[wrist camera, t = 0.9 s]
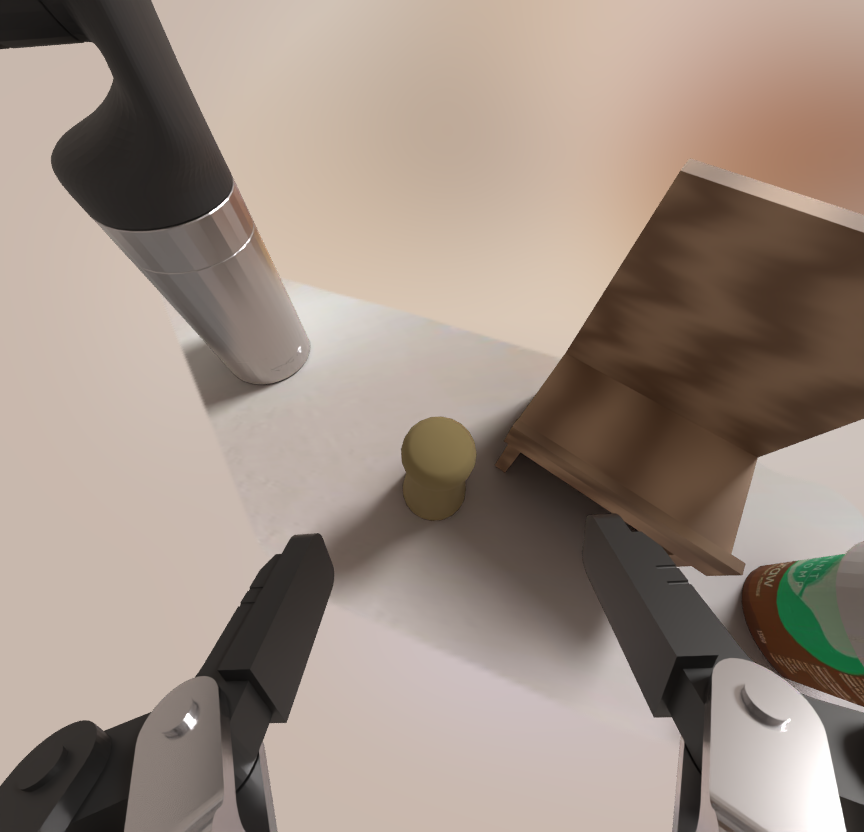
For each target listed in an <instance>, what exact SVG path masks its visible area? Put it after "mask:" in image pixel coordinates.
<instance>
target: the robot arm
mask: <svg viewBox="0 0 864 832" xmlns="http://www.w3.org/2000/svg"><path fill="white" fill-rule="evenodd" d="M84 42H93V43H94V44H95V45H96V46H97V47H98V48H99V50H100V51H101V53H102V54H103V56H104V58H105V60H106V62H107V64H108V66H109V68H110V70H111V72H112V75H113V78H114V79H113V83H112V86H111V89H110V91H109V93H108V95H107V96H106V98H105V100H104V101H103V102H102V104H101V105H100V106H99V107H98V108H97V109H96V110H95V111H94V112H93V113H92V114H90V115H89V116H88V117H86V118H85V119H83V120H82V121H81V122H79V123H78V124H77V125H75V126H74V127H72V128H71V129H70V130H69V131H67V132H66V133H65V134H64V135H63V136H62V137H61V138H60V140H59V141H58V142H57V144H56V146H55V148H54V150H53V153H52V156H51V164H52V168H53V171H54V173H55V175H56V176H57V177H58V180H59V181H60V183H62V185H63V186H64V188H65V189H66V190H67V191H68V192H69V194H70V195H71V196H72V197H73V198H74V199H75V200H76V201H77V202H78V203H79V205H80V206H81V207H82V208H83V209H84V210H85V211H86V212H87V213H88V214H89V215H90V217H92V218H93V219H94V220H95V222H97V224H98V225H99V226H100V227H101V228H102V229H103V230H104V231H105V232H106V234H107V235H108V236H109V237H110V238H111V239H112V240H113V241H114V242H115V244H116V245H117V246H118V247H119V248H120V249H121V250H122V251H123V252H124V253H125V255H126V256H127V257H128V258H129V259H130V260H131V261H132V262H133V263H134V264H135V265H136V266H137V267H138V269H139V270H140V271H141V272H142V273H143V274H144V275H145V276H146V277H147V278H148V279H149V281H151V283H152V284H153V285H154V286H155V287H156V288H157V290H158V291H159V292H160V293H161V294H162V295H163V296H164V297H165V298H166V299H167V301H168V302H169V303H170V304H171V305H172V306H173V307H174V308H175V309H176V310H177V312H178V313H179V314H180V315H181V316H182V317H183V318H184V319H185V320H186V322H187V323H188V324H189V325H190V326H191V327H192V328H193V329H194V330H195V331H196V333H197V334H198V335H199V336H200V337H201V338H202V339H203V340H204V341H205V343H206V344H207V345H208V346H209V347H210V348H211V349H212V350H213V352H214V353H215V354H216V355H217V356H218V357H219V358H220V359H221V360H222V361H223V363H224V364H225V365H226V366H227V367H228V368H229V369H230V370H231V371H232V372H233V374H234V375H236V376H237V377H238V378H239V379H241V380H243V381H245V382H248V383H253V384H269V383H274V382H278V381H281V380H283V379H285V378H287V377H290V376H291V375H292V374H294V373H295V372H297V371H298V370H299V369H300V368H301V367H302V366H303V364H304V363H305V361H306V360H307V358H308V355H309V352H310V342H309V339H308V337H307V335H306V332H305V330H304V328H303V326H302V324H301V322H300V319H299V317H298V315H297V313H296V310H295V308H294V306H293V304H292V302H291V300H290V298H289V295H288V293H287V291H286V289H285V287H284V285H283V283H282V281H281V278H280V276H279V274H278V272H277V270H276V268H275V266H274V264H273V261H272V259H271V257H270V255H269V253H268V251H267V249H266V247H265V244H264V242H263V240H262V238H261V236H260V234H259V232H258V230H257V227H256V225H255V223H254V221H253V219H252V217H251V215H250V213H249V211H248V209H247V206H246V204H245V202H244V200H243V198H242V196H241V194H240V191H239V189H238V187H237V185H236V183H235V181H234V179H233V177H232V175H231V172H230V170H229V168H228V166H227V164H226V162H225V160H224V158H223V156H222V154H221V152H220V150H219V148H218V146H217V144H216V142H215V140H214V137H213V136H212V134H211V131H210V129H209V127H208V125H207V123H206V121H205V119H204V117H203V115H202V112H201V111H200V108H199V106H198V104H197V102H196V100H195V98H194V96H193V93H192V91H191V89H190V87H189V85H188V82H187V81H186V78H185V76H184V74H183V72H182V70H181V67H180V65H179V63H178V61H177V59H176V56H175V54H174V52H173V50H172V47H171V45H170V43H169V40H168V38H167V36H166V34H165V32H164V30H163V27H162V25H161V22H160V20H159V18H158V15H157V13H156V11H155V9H154V6H153V4H152V2H151V0H0V49H6V48H7V49H8V48H21V47H22V48H23V47H35V46H48V45H61V44H73V43H84ZM582 556H583V563H584V567H585V570H586V573H587V575H588V578H589V580H590V582H591V584H592V586H593V588H594V591H595V593H596V595H597V597H598V599H599V601H600V603H601V605H602V608H603V610H604V612H605V614H606V616H607V618H608V620H609V623H610V625H611V627H612V629H613V631H614V633H615V635H616V638H617V640H618V642H619V644H620V646H621V648H622V650H623V652H624V655H625V657H626V659H627V661H628V663H629V665H630V667H631V670H632V672H633V674H634V676H635V678H636V680H637V682H638V685H639V687H640V689H641V691H642V693H643V695H644V697H645V699H646V702H647V704H648V706H649V708H650V710H651V712H652V714H653V717H672V718H673V720H674V722H675V724H676V726H677V728H678V730H679V732H680V734H681V739H680V747H679V759H678V771H677V782H676V794H675V806H674V818H673V830H672V832H864V713H863V712H859V711H856V710H852V709H849V708H845V707H842V706H838V705H835V704H832V703H828V702H825V701H821V700H818V699H815V698H812V697H809V696H806V695H804V694H801V693H799V692H798V691H797V690H796V689H795V688H794V687H793V686H792V685H790V684H789V683H788V682H787V681H785V680H784V679H783V678H781V677H780V676H778V675H777V674H775V673H774V672H772V671H771V670H769V669H767V668H765V667H763V666H761V665H759V664H756V663H754V662H753V661H752V660H751V659H750V658H749V657H748V656H747V655H746V654H745V652H744V651H743V650H742V649H741V648H740V646H739V645H738V644H737V642H736V641H735V640H734V639H733V637H732V636H731V635H730V633H729V632H728V631H727V630H726V628H725V627H724V626H723V625H722V623H721V622H720V621H719V619H718V618H717V617H716V616H715V614H714V613H713V612H712V610H711V609H710V608H709V607H708V605H707V604H706V603H705V601H704V600H703V599H702V598H701V596H700V595H699V594H698V592H697V591H696V590H695V589H694V587H693V586H692V585H691V584H689V583H688V580H687V578H686V577H685V576H684V575H683V573H682V572H681V571H680V569H679V568H676V564H675V563H674V562H673V560H672V559H671V558H670V557H669V555H668V554H667V553H666V551H665V550H664V549H663V548H662V546H661V545H659V544H658V543H656V542H655V541H654V540H652V539H651V538H650V537H648V536H647V535H646V534H644V533H643V532H642V531H640V532H631V531H630V529H629V528H628V526H627V525H626V523H625V522H624V521H623V519H622V518H621V517H620V516H619V515H618V514H616V513H612V514H598V515H588V516H587V518H586V524H585V533H584V541H583V550H582ZM333 582H334V568H333V564H332V562H331V559H330V557H329V554H328V551H327V549H326V546H325V543H324V541H323V538H322V536H321V535H320V534H319V533H316V534H302V535H294V536H292V537H291V539H290V540H289V542H288V544H287V545H286V547H285V549H284V551H283V553H282V554H276V555H275V556H274V557H273V558H272V559H271V560H270V561H269V562H268V563H267V564H266V565H265V566H264V567H263V568H262V569H261V570H260V571H259V573H258V574H257V576H256V578H255V579H254V581H253V583H252V584H251V586H250V590H249V591H248V592H247V593H246V595H245V596H244V598H243V599H242V601H241V605H240V607H238V608H237V610H236V612H235V613H234V615H233V616H232V618H231V620H230V621H229V623H228V625H227V626H226V628H225V630H224V631H223V633H222V635H221V636H220V638H219V640H218V641H217V643H216V645H215V647H214V648H213V650H212V651H211V653H210V655H209V656H208V658H207V660H206V662H205V663H204V665H203V666H202V668H201V669H200V671H199V673H198V674H197V675H196V677H195V678H192V679H190V680H188V681H186V682H184V683H182V684H180V685H179V686H178V687H176V688H175V689H173V690H172V691H171V692H170V693H169V694H167V695H166V697H164V698H163V699H162V700H161V701H160V702H159V704H158V705H157V706H156V707H155V708H154V709H153V711H152V712H150V713H148V714H145V715H143V716H140V717H138V718H135V719H133V720H130V721H128V722H125V723H123V724H120V725H118V726H115V727H113V728H110V729H108V730H105V731H103V730H102V729H101V728H99V727H98V726H97V725H96V724H94V723H93V722H91V721H79V722H75V723H72V724H70V725H68V726H66V727H64V728H62V729H60V730H59V731H57V732H55V733H54V734H52V735H51V736H49V737H48V738H47V739H45V740H44V741H43V742H42V743H40V744H39V745H38V746H37V747H36V748H34V749H33V750H32V751H31V752H30V753H29V754H28V755H27V756H26V757H25V758H24V759H23V760H22V761H21V762H20V763H19V764H18V766H17V767H16V768H15V769H14V770H13V771H12V772H11V774H10V775H9V776H8V777H7V778H6V780H5V781H4V782H3V783H2V785H1V786H0V832H277V826H276V819H275V813H274V806H273V799H272V793H271V786H270V779H269V773H268V766H267V760H266V753H265V747H264V743H263V739H264V736H265V733H266V731H267V728H268V725H269V723H286V722H287V720H288V717H289V714H290V711H291V708H292V705H293V702H294V699H295V696H296V693H297V690H298V687H299V684H300V681H301V679H302V675H303V673H304V670H305V667H306V664H307V661H308V658H309V655H310V652H311V649H312V646H313V643H314V640H315V637H316V634H317V631H318V628H319V626H320V622H321V620H322V617H323V614H324V611H325V608H326V605H327V602H328V599H329V596H330V593H331V590H332V587H333Z"/></svg>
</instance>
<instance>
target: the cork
mask: <svg viewBox="0 0 864 832" xmlns="http://www.w3.org/2000/svg"><path fill="white" fill-rule="evenodd" d="M401 455H402V464H403V466H404V469H405V471H406V476H405V479H404V483H403V496H404V499H405V502H406V504H407V506H408V507H409V508H410V509H411V511H412V512H413V513H414V514H416V515H417V516H419V517H421V518H423V519H427V520H431V521H435V520H443V519H445V518H448V517H450V516H452V515H453V514H454V513H455V512H456V511H457V510H458V509H459V508H460V506H461V504H462V503H463V501H464V497H465V491H466V485H465V480H466V479H468V477H469V475H470V473H471V472H472V470H473V468H474V466H475V461H476V455H477V454H476V448H475V443H474V440H473V438H472V436H471V434H470V432H469V431H468V430H467V429H466V428H465V427H464V426H463V425H462V424H460V423H459V422H457V421H455V420H453V419H450V418H445V417H430V418H427V419H424V420H422V421H420V422H418V423H417V424H416V425H414V426H413V427H412V428H411V429H410V431H409V432H408V434H407V435H406V436H405V438H404V441H403V445H402V448H401Z"/></svg>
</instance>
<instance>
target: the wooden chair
mask: <svg viewBox="0 0 864 832" xmlns="http://www.w3.org/2000/svg"><path fill="white" fill-rule="evenodd" d="M861 419H864V215H862V214H859V213H856V212H853V211H850V210H847V209H844V208H841V207H838V206H835V205H832V204H829V203H825V202H823V201H819V200H816V199H813V198H810V197H807V196H804V195H801V194H798V193H795V192H791V191H789V190H785V189H782V188H779V187H776V186H773V185H770V184H767V183H764V182H761V181H758V180H755V179H752V178H749V177H746V176H743V175H739V174H737V173H733V172H730V171H727V170H724V169H721V168H718V167H715V166H712V165H709V164H705V163H703V162H700V161H697V160H694V159H689V160H688V162H687V163H686V164H685V165H684V167H683V168H682V170H681V171H680V172H679V174H678V176H677V177H676V179H675V180H674V182H673V184H672V185H671V187H670V188H669V190H668V191H667V193H666V195H665V196H664V198H663V199H662V201H661V202H660V204H659V206H658V207H657V209H656V210H655V212H654V214H653V215H652V217H651V218H650V220H649V222H648V223H647V225H646V226H645V228H644V230H643V231H642V233H641V234H640V236H639V238H638V239H637V241H636V242H635V244H634V245H633V247H632V248H631V250H630V252H629V253H628V255H627V257H626V258H625V260H624V261H623V263H622V264H621V266H620V268H619V269H618V271H617V272H616V274H615V276H614V277H613V279H612V280H611V282H610V284H609V285H608V287H607V288H606V290H605V291H604V293H603V295H602V296H601V298H600V299H599V301H598V302H597V304H596V306H595V307H594V309H593V310H592V312H591V314H590V315H589V317H588V318H587V320H586V322H585V323H584V325H583V327H582V328H581V330H580V331H579V333H578V334H577V336H576V337H575V339H574V341H573V342H572V344H571V345H570V347H569V348H568V350H567V352H566V353H565V355H564V356H563V357H562V359H561V360H560V362H559V363H558V364H557V366H556V367H555V369H554V370H553V371H552V373H551V374H550V376H549V377H548V378H547V380H546V381H545V383H544V384H543V385H542V387H541V388H540V390H539V391H538V392H537V394H536V395H535V397H534V398H533V399H532V401H531V402H530V404H529V405H528V406H527V408H526V409H525V410H524V412H523V413H522V415H521V416H520V417H519V419H517V420H516V422H515V423H514V425H513V426H512V428H511V429H510V431H509V433H508V434H507V436H506V438H505V440H504V442H506V443H507V444H508V445H507V447H506V448H505V450H504V451H503V453H502V455H501V456H500V458H499V459H498V461H497V463H496V464H495V466H496V467H498V468H499V469H500V470H502V471H503V472H506V471H507V469H508V468H509V467H510V465H511V464H512V463H513V461H514V460H515V459H516V458H517V456H518V455H519V454H520V452H521V453H522V454H524V455H525V456H527V457H528V458H530V459H531V460H533V461H534V462H536V463H537V464H539V465H540V466H542V467H543V468H545V469H546V470H548V471H549V472H551V473H552V474H554V475H555V476H557V477H558V478H560V479H561V480H563V481H564V482H566V483H567V484H569V485H570V486H572V487H573V488H575V489H576V490H578V491H579V492H581V493H582V494H584V495H585V496H587V497H588V498H590V499H591V500H593V501H594V502H596V503H598V504H599V505H601V506H602V507H604V508H605V509H607V510H608V511H610V512H611V513H616V514H618V515H619V516H620V517H621V518H622V519H623V521H625V522H626V523H628V524H629V525H631V526H632V527H634V528H635V529H637V530H638V531H642V532H643V533H644V534H646V535H647V536H648V537H650V538H651V539H652V540H654V541H655V542H656V543H658V544H659V545H661V546H662V548H663V549H664V550H665V551H666V553H667V554H668V555H669V557H670V558H671V559H672V560H673V562H674V563H675V564H676V567H680V566H692V567H694V568H695V569H697V570H698V571H700V572H701V573H703V574H704V575H706V576H723V575H743V571H744V567H745V563H744V562H742V561H741V560H739V559H738V558H736V557H734V556H733V555H731V553H732V549H733V545H734V542H735V538H736V535H737V531H738V527H739V524H740V520H741V516H742V513H743V509H744V505H745V502H746V498H747V494H748V491H749V487H750V484H751V480H752V476H753V473H754V469H755V465H756V462H757V458H758V457H760V456H763V455H766V454H768V453H771V452H774V451H777V450H779V449H782V448H784V447H788V446H790V445H793V444H796V443H798V442H801V441H804V440H807V439H809V438H812V437H815V436H818V435H820V434H823V433H826V432H828V431H831V430H834V429H837V428H839V427H842V426H845V425H848V424H850V423H853V422H856V421H858V420H861Z"/></svg>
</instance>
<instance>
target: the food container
mask: <svg viewBox="0 0 864 832" xmlns="http://www.w3.org/2000/svg"><path fill="white" fill-rule="evenodd" d="M742 606H743V612H744V616H745V620H746V623H747V625H748V628H749V630H750V633H751V635H752V636H753V638H754V640H755V642H756V644H757V646H758V647H759V649H760V650H761V652H762V653H763V655H764V656H765V657H766V659H767V660H768V661H769V662H770V664H771V665H772V666H773V667H774V668H775V669H776V670H777V671H778V672H779V673H780V674H781V675H782V677H784V678H786V679H789V680H792V681H795V682H797V683H800V684H803V685H805V686H808V687H811V688H814V689H816V690H819V691H822V692H825V693H827V694H830V695H833V696H835V697H838V698H841V699H844V700H846V701H849V702H852V703H855V704H857V705H860V706H863V707H864V541H863V542H861V543H858V544H856V545H855V546H853V547H852V548H851V549H850V550H848V551H847V553H846V554H841V555H835V556H828V557H821V558H814V559H807V560H800V561H793V562H786V563H779V564H772V565H765V566H760V567H758V568H757V569H755V570H754V571H752V572H751V573H750V574H749V575H748V577H747V578H746V581H745V583H744V586H743V590H742Z"/></svg>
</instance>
